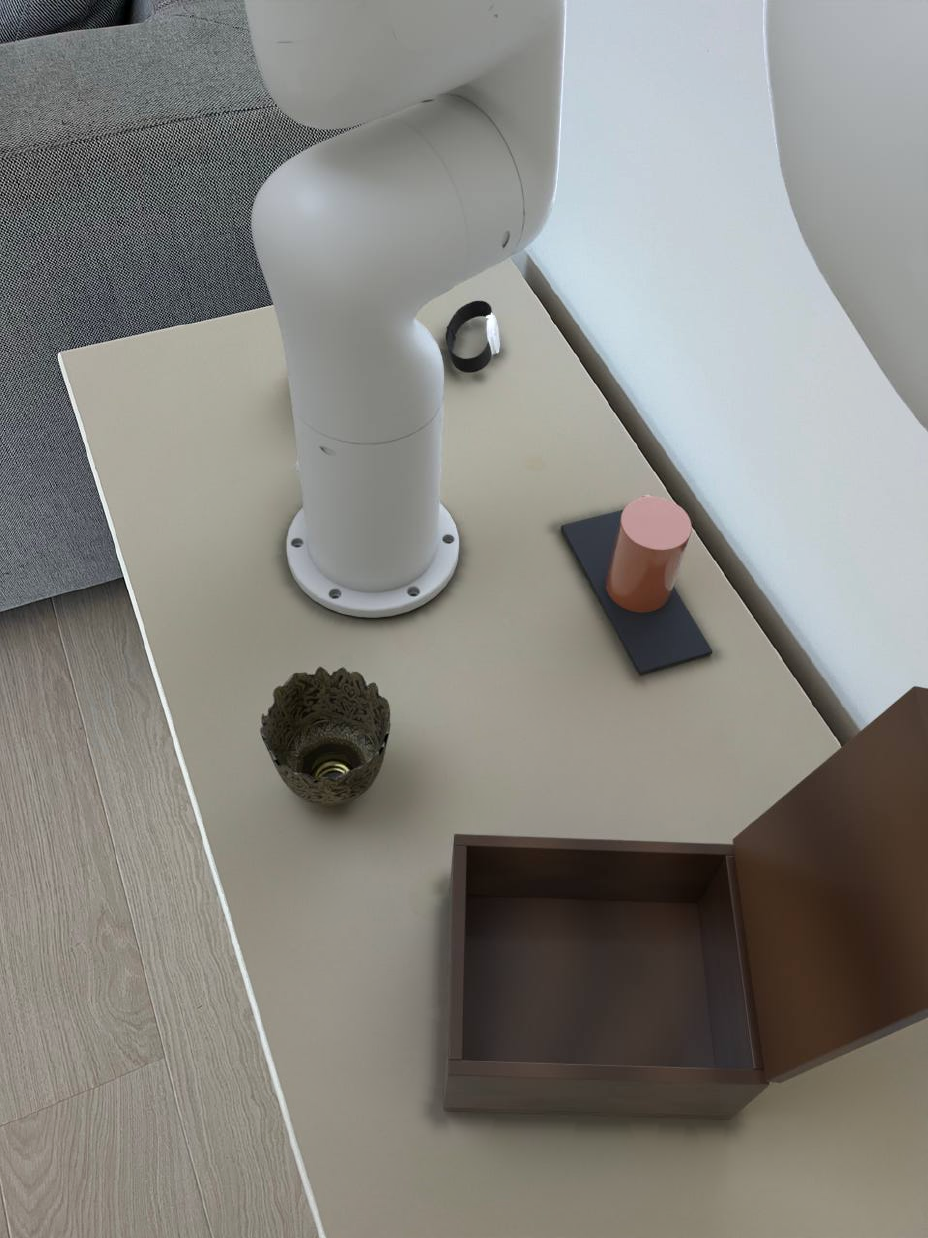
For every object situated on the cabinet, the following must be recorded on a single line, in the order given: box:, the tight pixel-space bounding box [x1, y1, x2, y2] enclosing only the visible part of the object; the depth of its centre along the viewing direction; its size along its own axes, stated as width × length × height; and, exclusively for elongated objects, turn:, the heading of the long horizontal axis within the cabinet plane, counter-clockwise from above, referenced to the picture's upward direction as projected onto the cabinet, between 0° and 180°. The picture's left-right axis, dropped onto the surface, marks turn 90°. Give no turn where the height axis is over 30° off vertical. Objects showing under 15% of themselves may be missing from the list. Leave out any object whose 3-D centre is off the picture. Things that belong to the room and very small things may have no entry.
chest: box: [442, 833, 771, 1120], centre depth 58 cm, size 15×12×8 cm
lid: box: [732, 685, 928, 1084], centre depth 48 cm, size 16×12×1 cm
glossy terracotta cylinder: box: [605, 494, 693, 613], centre depth 76 cm, size 6×5×7 cm
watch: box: [445, 300, 501, 374], centre depth 92 cm, size 8×5×4 cm, turn 175°
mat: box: [560, 509, 713, 676], centre depth 78 cm, size 14×6×1 cm, turn 20°
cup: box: [259, 666, 392, 807], centre depth 65 cm, size 8×7×8 cm
